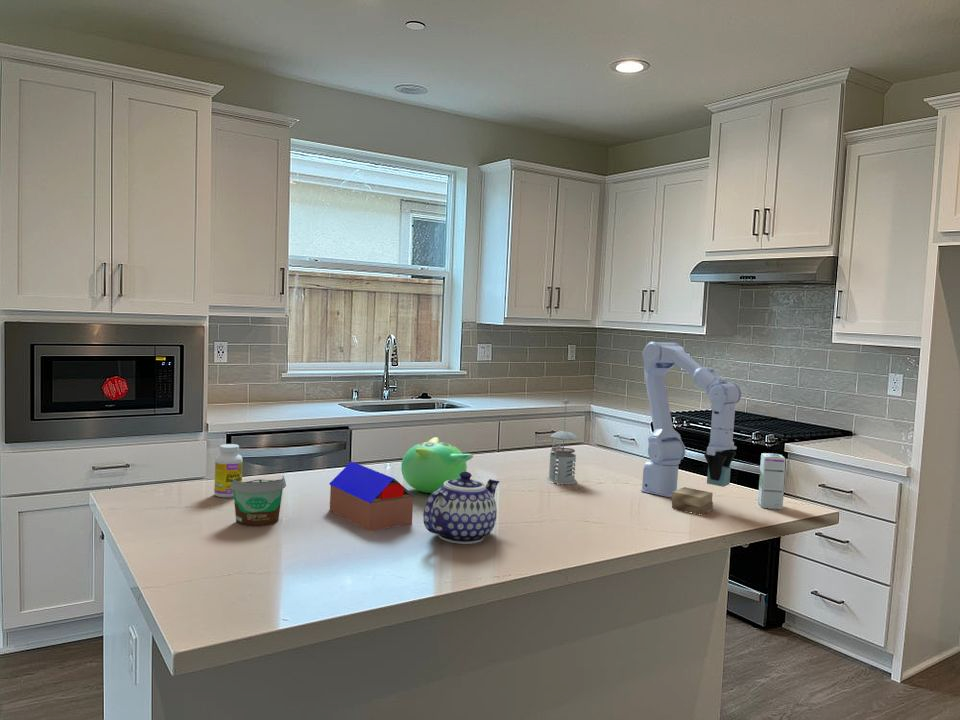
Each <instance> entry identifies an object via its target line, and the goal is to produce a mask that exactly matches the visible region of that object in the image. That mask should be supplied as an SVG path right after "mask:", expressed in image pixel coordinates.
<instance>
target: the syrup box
mask: <svg viewBox="0 0 960 720" xmlns="http://www.w3.org/2000/svg"><path fill="white" fill-rule="evenodd" d="M759 464H760V466H759V467H760V468H759V481H758V499H757V500H758V501H757V503H758V504H759V506H760V507H761V508H762V509H767V508H768V510H769V509H770V510H777V509H778V510H781V511H782V510H783V507H784V506H783V505H784V493H785V490H784V489H785V478H786V477H785V475H786V472H785V471H786V458H785V456H783V454H779V453H772V452H771V453H770V452H768V453H767V452H763V453H761V455H760V463H759Z"/></svg>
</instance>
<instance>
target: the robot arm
mask: <svg viewBox="0 0 960 720" xmlns="http://www.w3.org/2000/svg"><path fill="white" fill-rule="evenodd" d="M641 354H642V360H643V365H644V366H643V367H644V368H643V375H644V376H643V377H644V380H645V381H644V382H645V387H646V391H647V398H648V403H649V410H650V414H651V421H652V426H653V428H652V429H653V432H652V433H651V434H650V435H649V437H648V438H647V441H648V445H647V446H648V447H647V455H648V457H649V459H650V460H647V461H646V462H645V463H644V465H643V470H642V481H641V482H642V483H641V485H642V486H641V489H640V491H641V492H642V493H648V494H652V495H656V496H657V495H658V496H662V497H666V498H672V492H673V491H676V490H678V478H679V464H681V460H683V459H684V457H685V456H686V446H685V444H684V442H683V441H682V437H681V434H680V433H679V432H678V431H677V430H675V428H674V426H673V422H672V415H671V410H670V403H669V399H668V394H667V387H666V382H665V375H666V374H667V372H669V371H670V370H671V369H672V368H673V367H674V366H675V365H676V366H677V367H679V368H680V369H682V370H683V371H685V372H686V373H688V374H689V375H690V376H692V377H693V379H692V380H693V383H694V384H695V385H696V386H697V387H698V388H700V389H701V390H702V391H703V392H705V393H706V395H708V400H709V401H710V404H711V406H710V408H711V410H712V412H711V424H710V436H709V443H708V446H707V447H706V451H705V452H704V453H703V455H704V458H705V460H706V462H707V468H708V467H709V473H710V478H711V479H712V480H717V481H719V479H720V476H721V471H722V467H723V466H725V467H730V466H731V463H732V462H733V459H734V457H735V456H736V455H737V452H736V450H737V448H738V447H737V446H736V445H735V441H734V440H733V438H734V430H735V429H734V428H735V413H736V404H738V403H739V402H740V400H741V398H742V391H741V388H740V387H739V386H738V384H737V383H735V382H728V381H727V379H726V378H724V377H721V376H720V375H719V374H718V373H716V372H715V369H714V368H713V367H712V366H711V367H710V366H709V367H708V366H701V365H700V364H699V363H697V362H696V360H694V359H693V358H692V357H691V356H690V355H689V353H687V352H685V348H684V347H683V346H681V345H680V344H679V343H677V342H673V341H671V342H658V341H657V342H656V341H649V342H648V343H647V344H646V345H645V347H644V348H643V350H642V352H641ZM734 450H735V451H734ZM730 468H731V467H730Z"/></svg>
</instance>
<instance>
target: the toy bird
mask: <svg viewBox="0 0 960 720" xmlns="http://www.w3.org/2000/svg"><path fill="white" fill-rule="evenodd" d="M473 457H474V456H473V454H471V453H463V452H462V451H461V450H460V449H459V448H458V447H457V446H454V445H452V444H450V443H447V442H443V441H440V439H439V437H436V436H435V437H432V438H430V439H429V440H427V441H425V442H421V443H417V444H415V445H413V446H412V447H410V448H409V449H408V450H407V451H406V452H405V454H404V455H403V458H402V460H401V466H400V468H401V469H400V471H401V475H402V478H403V479H404V480H405V482H406V483H407V485H409V487H411V488H412V489H415V490H416V491H420V492H422V493H427V494H428V493H429V494H432V493H433V492H434V491H437V490H438V489H439V488H440V487H442V486H443V485H444V482H445V481H448V480H452V479H458V478H461V477H460V473H461V472H467V468H468V467H467V462H468V461H470V460H471V459H473Z"/></svg>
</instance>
